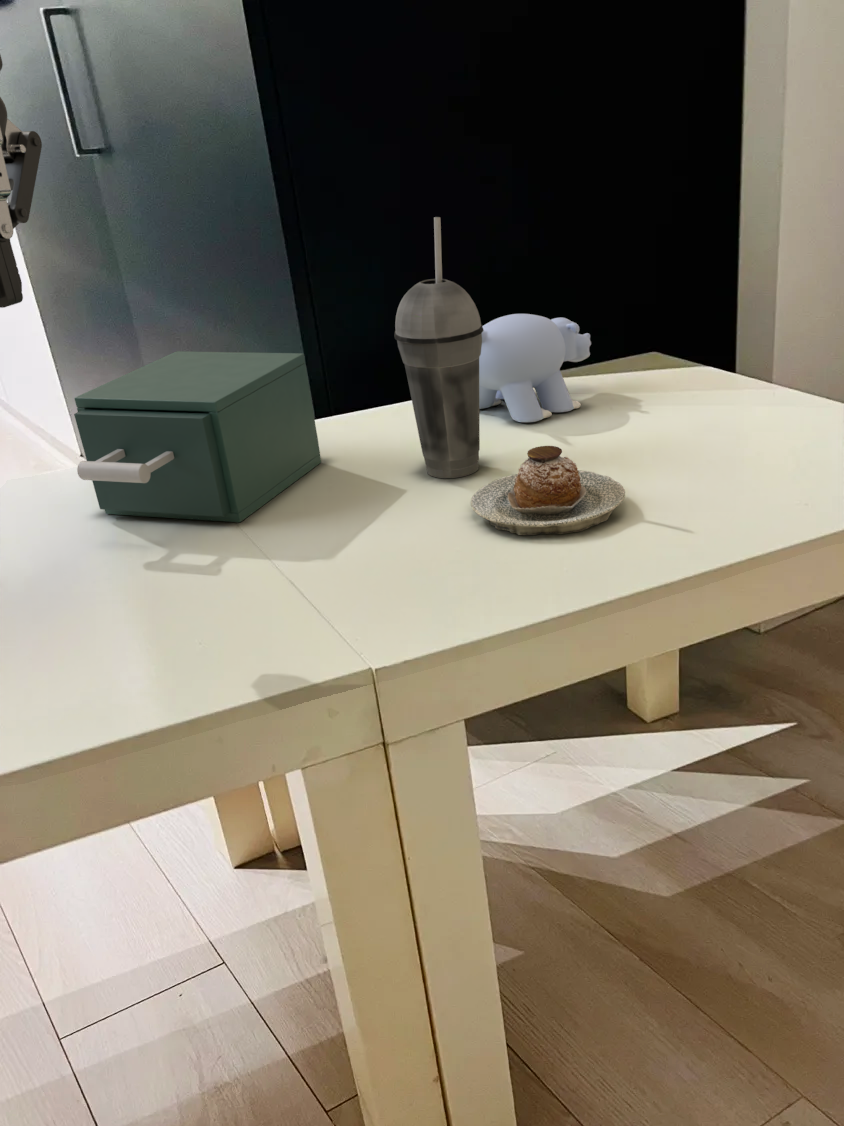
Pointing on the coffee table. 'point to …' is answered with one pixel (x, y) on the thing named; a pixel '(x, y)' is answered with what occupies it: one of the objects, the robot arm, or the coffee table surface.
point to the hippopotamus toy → (529, 364)
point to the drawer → (153, 461)
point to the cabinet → (230, 417)
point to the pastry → (548, 496)
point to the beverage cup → (442, 369)
